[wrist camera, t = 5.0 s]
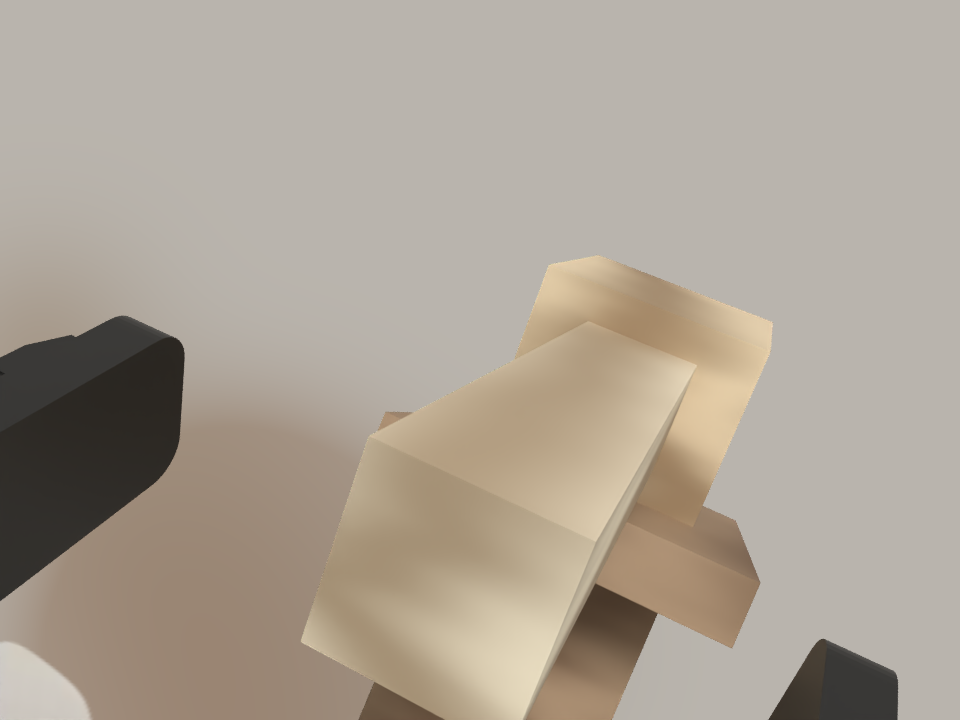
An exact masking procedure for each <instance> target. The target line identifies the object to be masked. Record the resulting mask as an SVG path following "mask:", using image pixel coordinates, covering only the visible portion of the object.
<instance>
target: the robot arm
mask: <svg viewBox="0 0 960 720" xmlns="http://www.w3.org/2000/svg"><path fill="white" fill-rule="evenodd" d="M183 375H184V348H183V346H182V344H181V342H180V341H179V340H178V339H176V338H174V337H172V336H170V335H168V334H166V333H163V332H161V331H159V330H157V329H154V328H153V327H150V326H148V325H146V324H144V323H142V322H139V321H137V320H135V319H133V318H131V317H128V316H118V317H115V318H112V319H110V320H108V321H106V322H104V323H102V324H100V325H99V326H97V327H95V328H93V329H91V330H89V331H87V332H85V333H83V334H81V335H79V336H77V337H74V336H72V335H69V336H65V337H60V338H56V339H51V340H47V341H42V342H38V343H33V344H29V345H25V346H23V347H21V348H19V349H17V350H15V351H13V352H11V353H9V354H7V355H5V356H3V357H0V601H1V600H2V599H3V598H5V597H6V596H8V595H9V594H10V593H11V592H13V591H14V590H15V589H17V588H18V587H19V586H21V585H22V584H23V583H25V582H26V581H27V580H28V579H30V578H31V577H32V576H34V575H35V574H36V573H38V572H39V571H40V570H42V569H43V568H44V567H45V566H47V565H48V564H49V563H51V562H52V561H53V560H54V559H56V558H57V557H59V556H60V555H61V554H62V553H64V552H65V551H66V550H68V549H69V548H70V547H72V546H73V545H74V544H75V543H77V542H78V541H79V540H81V539H82V538H83V537H85V536H86V535H87V534H89V533H90V532H91V531H93V530H94V529H95V528H96V527H98V526H99V525H100V524H102V523H103V522H104V521H106V520H107V519H108V518H110V517H111V516H112V515H114V514H115V513H116V512H117V511H119V510H120V509H121V508H123V507H124V506H125V505H127V504H128V503H129V502H131V501H132V500H133V499H134V498H136V497H137V496H138V495H140V494H141V493H142V492H143V491H145V490H146V489H148V488H149V487H150V486H151V485H153V484H154V483H155V482H156V481H157V480H158V479H159V478H160V477H161V476H162V475H163V473H164V472H165V471H166V469H167V468H168V466H169V465H170V463H171V461H172V459H173V457H174V455H175V453H176V450H177V447H178V443H179V438H180V437H179V436H180V424H181V423H180V422H181V407H182V391H183ZM897 712H898V679H897V675H896V673H895V672H894V671H893V670H890V669H888V668H886V667H884V666H882V665H880V664H877V663H875V662H873V661H871V660H869V659H866V658H864V657H862V656H860V655H858V654H856V653H853V652H851V651H849V650H847V649H845V648H843V647H840V646H838V645H836V644H834V643H831V642H830V641H827V640H825V639H821V640H819V641H818V642H817V643H816V644H815V646H814V647H813V648H812V650H811V651H810V653H809V654H808V656H807V658H806V659H805V661H804V663H803V664H802V666H801V668H800V669H799V671H798V672H797V674H796V676H795V677H794V679H793V681H792V682H791V684H790V685H789V687H788V689H787V690H786V692H785V694H784V695H783V697H782V699H781V700H780V702H779V703H778V705H777V707H776V708H775V710H774V712H773V713H772V715H771V716H770V718H769V720H897V715H898V714H897Z"/></svg>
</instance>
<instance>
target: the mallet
mask: <svg viewBox="0 0 960 720" xmlns="http://www.w3.org/2000/svg"><path fill="white" fill-rule="evenodd" d="M772 325H773V322H771V321H769V320H766V319H763V318H761V317H758V316H756V315H753V314H750V313H748V312H745V311H743V310H740V309H737V308H735V307H732V306H729V305H727V304H724V303H722V302H719V301H717V300H714V299H711V298H708V297H706V296H704V295H701V294H698V293H696V292H693V291H691V290H688V289H686V288H683V287H680V286H678V285H675V284H673V283H670V282H667V281H664V280H662V279H660V278H657V277H654V276H651V275H649V274H647V273H644V272H641V271H639V270H636V269H634V268H631V267H628V266H626V265H623V264H620V263H618V262H615V261H613V260H610V259H608V258H605V257H602V256H600V255H597V256H592V257H587V258H582V259H576V260H572V261H566V262H560V263H555V264H550V265H549V266H548V269H547V272H546V274H545V277H544V280H543V283H542V286H541V288H540V291H539V293H538V296H537V299H536V302H535V304H534V307H533V310H532V313H531V315H530V318H529V321H528V324H527V326H526V329H525V332H524V334H523V337H522V340H521V342H520V345H519V348H518V351H517V354H516V356H515V359H514V360H513V361H512V362H509V363H507V364H505V365H503V366H502V367H500V368H498V369H496V370H494V371H492V372H490V373H488V374H486V375H484V376H482V377H481V378H479V379H477V380H475V381H473V382H471V383H469V384H467V385H465V386H463V387H461V388H460V389H458V390H456V391H454V392H452V393H450V394H448V395H446V396H444V397H442V398H440V399H439V400H437V401H435V402H433V403H431V404H429V405H427V406H426V407H423V408H421V409H420V410H418V411H416V412H414V413H412V414H410V415H408V416H406V417H404V418H402V419H400V420H398V421H396V422H395V423H393V424H391V425H389V426H387V427H385V428H383V429H381V430H379V431H377V432H375V433H374V434H372V435H370V436H369V437H368V440H367V443H366V446H365V449H364V452H363V455H362V458H361V461H360V464H359V467H358V470H357V473H356V476H355V479H354V482H353V485H352V488H351V491H350V494H349V497H348V500H347V503H346V506H345V509H344V512H343V515H342V518H341V522H340V525H339V528H338V530H337V533H336V536H335V539H334V542H333V546H332V548H331V551H330V554H329V557H328V560H327V563H326V566H325V570H324V572H323V575H322V578H321V581H320V584H319V587H318V590H317V594H316V596H315V600H314V603H313V606H312V609H311V612H310V615H309V618H308V621H307V624H306V627H305V630H304V633H303V636H302V639H301V642H302V643H303V644H305V645H307V646H309V647H311V648H313V649H315V650H316V651H318V652H320V653H322V654H324V655H326V656H328V657H329V658H331V659H333V660H335V661H337V662H339V663H341V664H342V665H344V666H346V667H348V668H350V669H352V670H354V671H355V672H357V673H359V674H361V675H363V676H365V677H367V678H368V679H370V680H372V681H374V682H376V683H378V684H380V685H381V686H383V687H385V688H387V689H389V690H391V691H393V692H394V693H396V694H398V695H400V696H402V697H404V698H406V699H407V700H409V701H411V702H413V703H415V704H417V705H419V706H420V707H422V708H424V709H426V710H428V711H430V712H432V713H433V714H435V715H437V716H439V717H441V718H443V719H445V720H526V718H527V716H528V714H529V712H530V710H531V708H532V706H533V704H534V702H535V700H536V699H537V697H538V695H539V693H540V691H541V689H542V687H543V685H544V683H545V681H546V679H547V677H548V675H549V673H550V671H551V669H552V667H553V665H554V663H555V661H556V659H557V657H558V655H559V653H560V651H561V649H562V647H563V646H564V644H565V642H566V640H567V638H568V636H569V634H570V632H571V630H572V628H573V626H574V624H575V622H576V620H577V618H578V616H579V614H580V612H581V610H582V608H583V606H584V604H585V602H586V600H587V598H588V596H589V595H590V593H591V591H592V589H593V587H594V585H595V583H596V581H597V579H598V577H599V575H600V573H601V571H602V569H603V567H604V565H605V563H606V561H607V559H608V557H609V555H610V553H611V551H612V549H613V547H614V545H615V544H616V542H617V540H618V538H619V536H620V534H621V532H622V530H623V528H624V526H625V524H626V522H627V520H628V518H629V516H630V514H631V512H632V510H633V508H634V506H635V504H636V502H637V503H640V504H642V505H644V506H646V507H649V508H651V509H653V510H655V511H657V512H660V513H662V514H664V515H666V516H669V517H671V518H673V519H675V520H677V521H680V522H682V523H684V524H686V525H689V526H691V527H693V526H694V524H695V521H696V519H697V517H698V514H699V512H700V510H701V508H702V505H703V503H704V501H705V499H706V496H707V494H708V492H709V490H710V487H711V485H712V483H713V480H714V478H715V476H716V474H717V471H718V469H719V467H720V465H721V462H722V460H723V458H724V456H725V453H726V451H727V449H728V447H729V444H730V442H731V440H732V438H733V435H734V433H735V431H736V428H737V426H738V424H739V422H740V420H741V417H742V415H743V413H744V411H745V408H746V406H747V404H748V402H749V399H750V397H751V395H752V392H753V390H754V388H755V386H756V383H757V381H758V378H759V377H760V374H761V372H762V370H763V368H764V365H765V363H766V361H767V359H768V356H769V354H770V352H771V338H772Z"/></svg>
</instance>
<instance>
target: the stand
mask: <svg viewBox="0 0 960 720" xmlns="http://www.w3.org/2000/svg"><path fill="white" fill-rule="evenodd" d="M410 414H412V413H411V412H385V415H384V417H383V419H382V422H381V424H380V427H379V429H378V431H379V430H381V429H383V428H385V427H387V426H389V425H391V424H393V423H395V422H396V421H398V420H400V419H402V418H404V417H406V416H408V415H410ZM759 585H760V581H759V578H758V576H757V573H756V571H755V568H754V566H753V563H752V561H751V558H750V555H749V553H748V551H747V548H746V546H745V543H744V540H743V538H742V535H741V533H740V531H739V528H738V525H737V523H736V521H735V520H733V519H731V518H729V517H726V516H724V515H722V514H720V513H717V512H715V511H713V510H711V509H708V508H706V507H704V506H702V508H701V510H700V512H699V514H698V517H697V519H696V521H695V524H694V526H693V527H691V526H689V525H686V524H684V523H682V522H680V521H677V520H675V519H673V518H671V517H669V516H666V515H664V514H662V513H660V512H657V511H655V510H653V509H651V508H649V507H646V506H644V505H642V504H640V503H637V502H636V504H635V506H634V508H633V510H632V512H631V514H630V516H629V518H628V520H627V522H626V524H625V526H624V528H623V530H622V532H621V534H620V536H619V538H618V540H617V542H616V544H615V545H614V547H613V549H612V551H611V553H610V555H609V557H608V559H607V561H606V563H605V565H604V567H603V569H602V571H601V573H600V575H599V577H598V579H597V581H596V583H595V585H594V587H593V589H592V591H591V593H590V595H589V596H588V598H587V600H586V602H585V604H584V606H583V608H582V610H581V612H580V614H579V616H578V618H577V620H576V622H575V624H574V626H573V628H572V630H571V632H570V634H569V636H568V638H567V640H566V642H565V644H564V646H563V647H562V649H561V651H560V653H559V655H558V657H557V659H556V661H555V663H554V665H553V667H552V669H551V671H550V673H549V675H548V677H547V679H546V681H545V683H544V685H543V687H542V689H541V691H540V693H539V695H538V697H537V699H536V700H535V702H534V704H533V706H532V708H531V710H530V712H529V714H528V716H527V718H526V720H612V718H613V716H614V714H615V711H616V709H617V707H618V704H619V702H620V700H621V697H622V695H623V693H624V690H625V688H626V686H627V683H628V681H629V679H630V676H631V674H632V672H633V669H634V667H635V665H636V662H637V660H638V658H639V656H640V653H641V651H642V649H643V646H644V644H645V641H646V639H647V637H648V635H649V632H650V630H651V628H652V625H653V623H654V621H655V618H656V616H657V614H658V613H659V614H661V615H663V616H665V617H667V618H669V619H671V620H673V621H675V622H677V623H680V624H682V625H684V626H686V627H688V628H690V629H692V630H694V631H696V632H698V633H701V634H703V635H705V636H707V637H709V638H711V639H713V640H715V641H717V642H720V643H721V644H724V645H726V646H728V647H730V648H732V647H733V645H734V643H735V641H736V638H737V636H738V634H739V631H740V629H741V627H742V624H743V622H744V620H745V617H746V615H747V613H748V610H749V608H750V606H751V604H752V601H753V599H754V597H755V594H756V592H757V590H758V587H759ZM359 720H445V719H443V718H441V717H439V716H437V715H435V714H433V713H432V712H430V711H428V710H426V709H424V708H422V707H420V706H419V705H417V704H415V703H413V702H411V701H409V700H407V699H406V698H404V697H402V696H400V695H398V694H396V693H394V692H393V691H391V690H389V689H387V688H385V687H383V686H381V685H380V684H378V683H376V682H374V684H373V687H372V689H371V692H370V694H369V696H368V699H367V701H366V704H365V706H364V708H363V710H362V713H361V715H360V718H359Z"/></svg>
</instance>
